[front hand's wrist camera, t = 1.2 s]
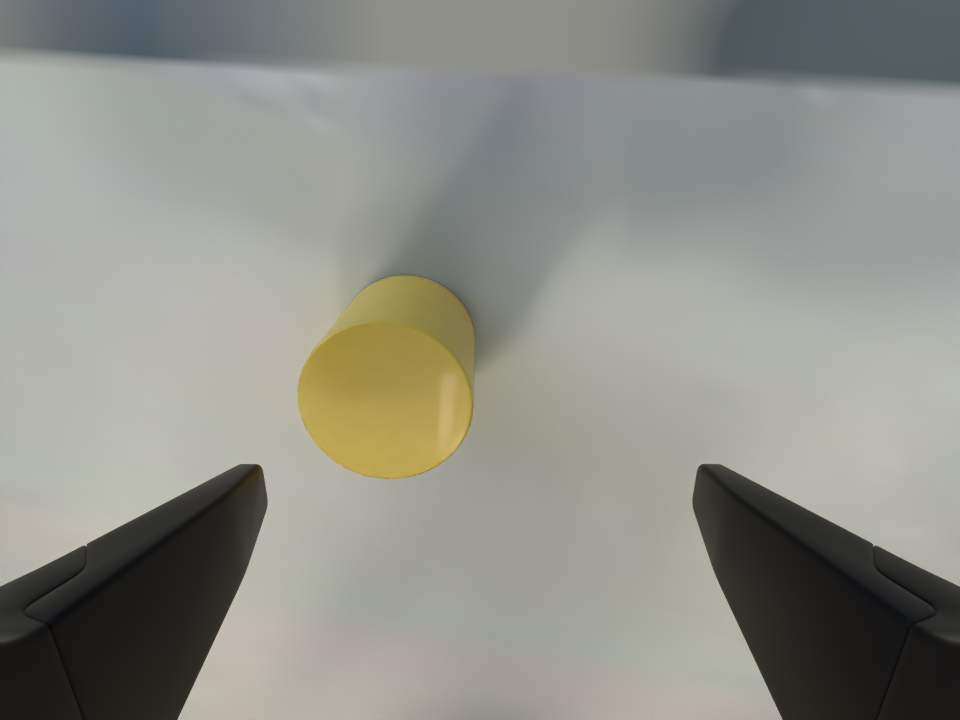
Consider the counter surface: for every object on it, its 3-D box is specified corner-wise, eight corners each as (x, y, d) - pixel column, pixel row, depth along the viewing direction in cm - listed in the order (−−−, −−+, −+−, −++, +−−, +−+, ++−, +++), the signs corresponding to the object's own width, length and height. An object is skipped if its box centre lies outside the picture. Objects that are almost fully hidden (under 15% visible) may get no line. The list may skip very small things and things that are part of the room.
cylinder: (421, 247, 18) (400, 284, 13) (501, 355, 19) (507, 423, 14) (313, 324, 18) (259, 384, 14) (397, 423, 20) (372, 507, 15)
